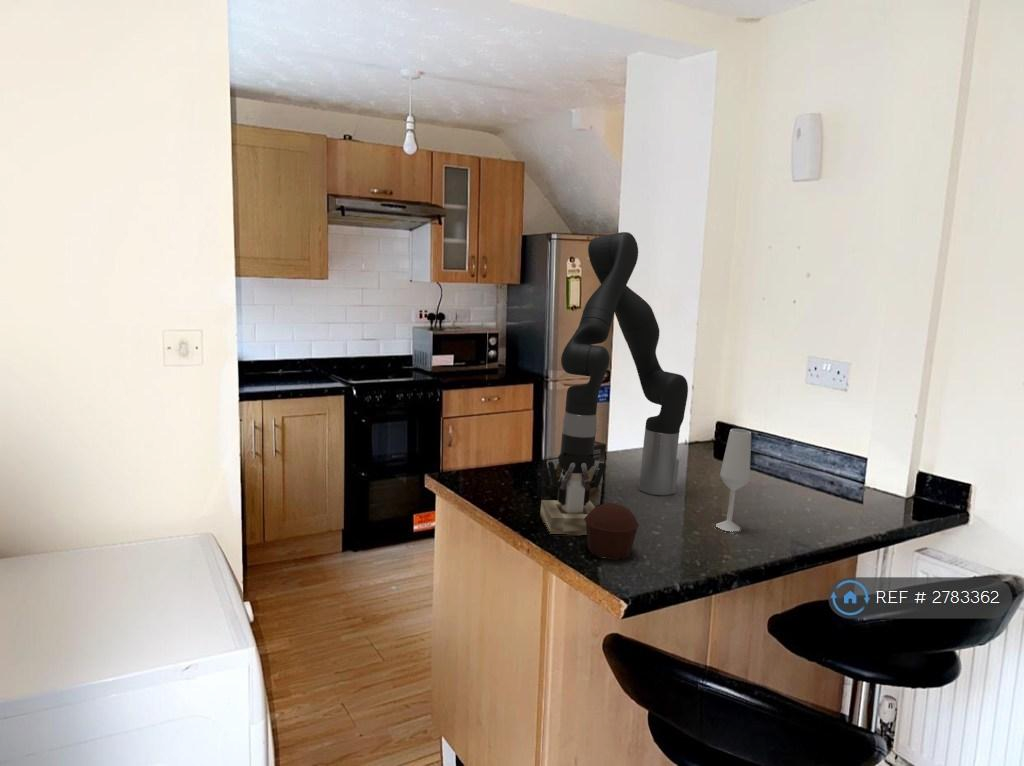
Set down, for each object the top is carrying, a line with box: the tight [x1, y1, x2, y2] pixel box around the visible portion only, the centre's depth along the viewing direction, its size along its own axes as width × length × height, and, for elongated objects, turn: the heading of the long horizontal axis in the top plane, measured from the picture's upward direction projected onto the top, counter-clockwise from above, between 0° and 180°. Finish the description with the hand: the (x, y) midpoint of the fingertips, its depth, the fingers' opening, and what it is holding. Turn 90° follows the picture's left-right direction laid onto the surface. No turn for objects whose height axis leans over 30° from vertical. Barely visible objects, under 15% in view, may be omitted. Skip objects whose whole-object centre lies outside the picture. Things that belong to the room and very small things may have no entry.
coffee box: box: [561, 440, 607, 507], centre depth 176 cm, size 9×6×16 cm
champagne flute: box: [715, 428, 752, 532], centre depth 166 cm, size 7×7×24 cm
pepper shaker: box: [561, 473, 585, 514], centre depth 160 cm, size 4×4×10 cm
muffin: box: [584, 502, 640, 560], centre depth 147 cm, size 12×11×10 cm
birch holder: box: [539, 499, 596, 536], centre depth 161 cm, size 12×12×4 cm
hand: (572, 503), depth 161 cm, fingers closed on pepper shaker, 4 cm apart
